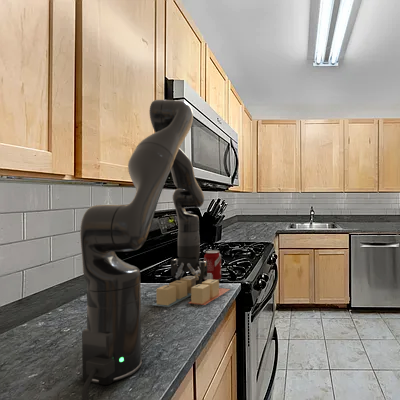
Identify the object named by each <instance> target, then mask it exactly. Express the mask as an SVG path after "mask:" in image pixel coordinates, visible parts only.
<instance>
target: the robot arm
mask: <svg viewBox="0 0 400 400" xmlns="http://www.w3.org/2000/svg"><path fill="white" fill-rule="evenodd" d="M148 111H149V119H150V124H151V126H152V129H153V131H154V132H153V133H152V134H150V135H148V136H146V137H145V138H143V139H142V140H141V141H140V142H139V143H138V144H137V145H136V147H135V149H134V151H133V152H132V154H131V155H130V158H129V160H128V163H127V170H128V174H129V177H130V179H131V182H132V184H133V186H134V188H135V194H134V197H133V199H132V200H131V202H129V203H128V204H97V205H92V206H90V207H89V208H87V210H86V211H84V214H83V216H82V219H81V222H80V229H79V230H80V232H79V233H80V234H79V236H80V249H81V261H82V262H81V263H82V265H81V266H82V274H83V277H84V280H85V282H86V329H83V330H82V332H81V352H82V353H81V355H82V358H81V359H82V360H81V361H82V363H81V364H82V365H81V367H82V381H83V382H84V385H83V387H82V391H81V400H89V387H90V385H91V383H94V384H97V385H98V384H99V385H104V386H110V385H111V384H113V383H115V382H117V381H121V380H123V379H126V378H128V377H130V376H132V375H133V374H135V373H136V372H138V371H139V370H140V368H141V367H142V365H143V360H142V312H141V311H142V308H141V304H142V303H141V300H142V299H141V297H142V294H141V291H142V290H141V288H142V287H141V280H142V279H141V275H142V274H141V270H140V268H139V267H137V266H135V265H133V264H130V263H128V262H125V261H124V260H123V259H121V258H119V257H118V256H117V254H116V252H133V251H134V252H135V251H137V250H139V249H141V248H142V247H143V246H144V244H145V243H146V241H147V239H148V237H149V234H150V232H151V227H152V225H153V222H154V218H155V214H156V210H157V206H158V203H159V199H160V196H161V194H162V192H163V189H164V186H165V184H166V181H167V180H168V177H169V175H170V173H171V177H172V181H173V183H174V186H175V187H176V189H175V190H174V191H173V193H172V202H173V205H174V208H175V212H176V217H177V223H178V225H177V226H178V227H177V228H178V229H177V232H178V233H177V257H178V258H175V259H174V258H173V259H171V260H170V276H171V277H174V278H175V281H176V280H180V279H181V278H184V277H183V275H184V274H185V273H187V272H188V273H191V274H192V276H195V278H196V285H198V284H202V282H203V280H204V278H205V277H207V261H204V260H203V261H202V260H201V259H200V255H201V252H200V251H201V238H200V237H201V236H200V219H199V216H198V215H197V214H194V213H189V212H187V211H186V209H197V208H201V207H202V206H203V205H204V202H205V195H204V192H203V190H202V188H201V186H200V185H199V183H198V181H197V179H196V175H195V170H194V166H193V163H192V161H191V159H190V158H189V156H188V155H187V154H186V153H185V152H184V151H183V150H182V148H181V146H182V144H183V143H184V141H185V139H186V137H187V136H188V134H189V132H190V131H191V128H192V125H193V121H194V112H193V108H192V106H191V105H190V104H189V103H188V102H186V101H184V100H177V99H175V100H173V99H154V100H152V101H151V103H150V105H149V110H148Z"/></svg>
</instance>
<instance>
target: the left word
mask: <svg viewBox="0 0 400 400" xmlns="http://www.w3.org/2000/svg"><path fill="white" fill-rule="evenodd" d="M155 293H156V294H155V295H156V302H155V303H152V304H151V306H157V307H166V308H169V307H172V306H173V305H175V304H177V303H180V302H181V301H183V300H185V299H187V298H189V297H191V294H189V293H187V281H180V280H176V279H175V280H174V281H172V282H169V283H168V284H164V285H162V286H159V287H157V288H156V290H155Z"/></svg>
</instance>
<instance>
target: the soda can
mask: <svg viewBox="0 0 400 400" xmlns="http://www.w3.org/2000/svg"><path fill="white" fill-rule="evenodd" d="M203 261H207V277H205V278H203V280H204V281H206V280H208V279H211V280H219V281H220V280H221V279H222V254H221V253H220V250H218V249H217V250H216V249H211V250H206V251H205V254H204V256H203Z"/></svg>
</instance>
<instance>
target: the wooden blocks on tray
mask: <svg viewBox="0 0 400 400" xmlns="http://www.w3.org/2000/svg"><path fill="white" fill-rule="evenodd" d="M230 290H231V288H223V287H222V288H221V287H220V280H211V279H208V280H206V281H205V280H204V281H202V284H198V285H196V286H194V287H192V288H191V296H190V299H191V300H190V301H189V302H188V304H192V305H201V306H206V305H208V304H209V303H210V302H212V301H214V300H215V299H217V298H219V297H220V296H222V295H224V294H226V292H229V291H230Z"/></svg>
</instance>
